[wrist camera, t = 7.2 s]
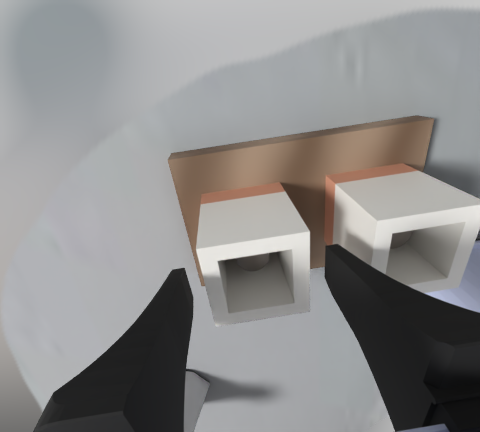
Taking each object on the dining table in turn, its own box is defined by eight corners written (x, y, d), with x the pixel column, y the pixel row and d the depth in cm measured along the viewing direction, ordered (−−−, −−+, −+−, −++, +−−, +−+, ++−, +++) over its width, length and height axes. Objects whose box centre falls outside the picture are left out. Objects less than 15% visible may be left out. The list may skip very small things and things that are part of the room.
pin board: (417, 115, 17) (497, 131, 12) (394, 242, 22) (445, 290, 17) (171, 153, 17) (153, 184, 12) (202, 273, 22) (199, 330, 17)
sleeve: (279, 182, 17) (309, 231, 11) (283, 246, 19) (310, 311, 14) (201, 194, 17) (195, 249, 11) (215, 257, 19) (215, 326, 14)
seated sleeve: (402, 163, 17) (488, 203, 12) (391, 229, 19) (458, 287, 14) (325, 175, 17) (377, 220, 11) (324, 240, 19) (366, 302, 14)
